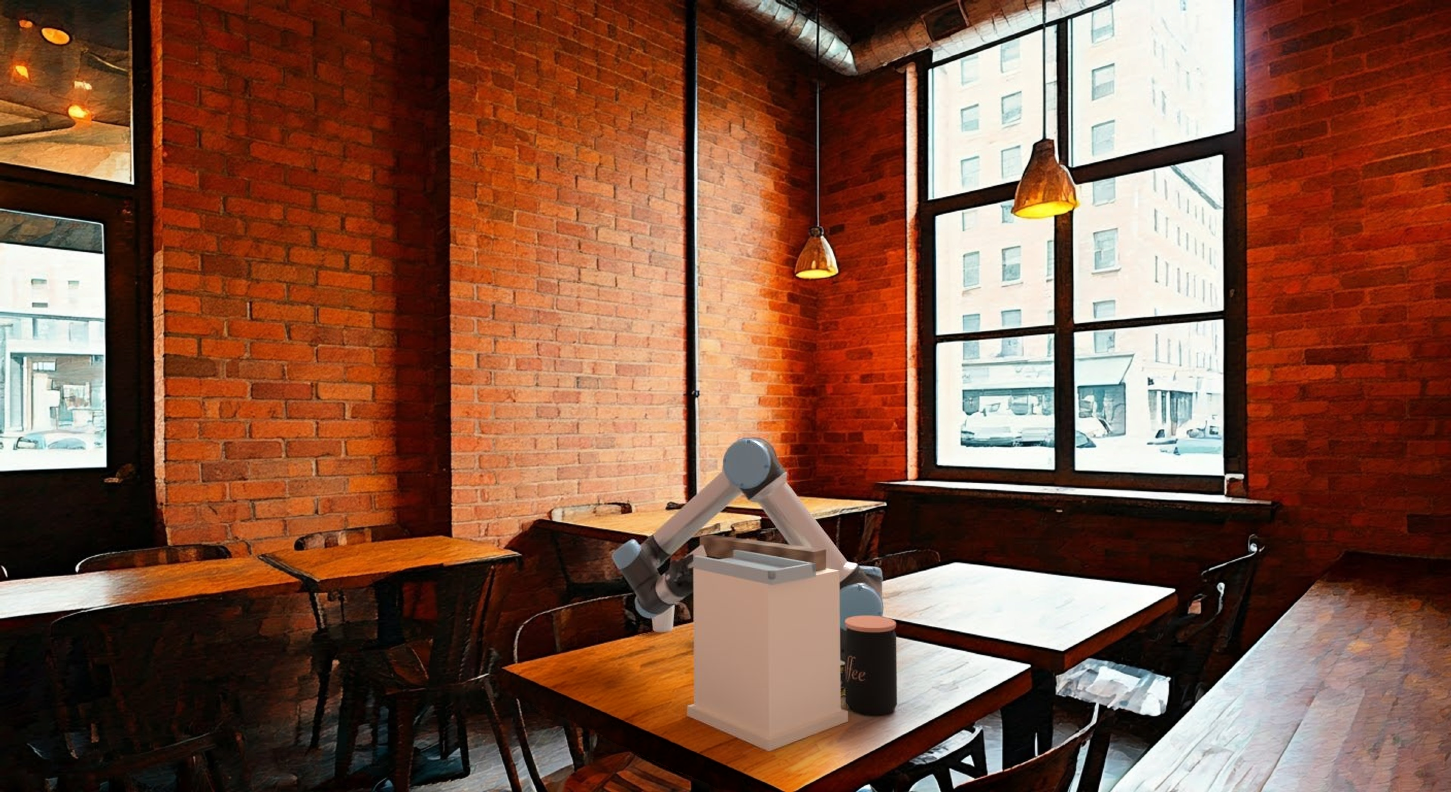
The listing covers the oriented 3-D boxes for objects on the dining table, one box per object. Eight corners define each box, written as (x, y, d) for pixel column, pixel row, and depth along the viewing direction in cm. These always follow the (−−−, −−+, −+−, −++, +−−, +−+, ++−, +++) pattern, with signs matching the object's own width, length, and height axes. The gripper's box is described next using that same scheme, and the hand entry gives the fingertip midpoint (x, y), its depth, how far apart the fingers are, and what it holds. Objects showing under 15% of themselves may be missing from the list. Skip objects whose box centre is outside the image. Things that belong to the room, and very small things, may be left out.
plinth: (687, 715, 165) (686, 568, 166) (764, 691, 180) (763, 555, 180) (768, 751, 147) (767, 585, 148) (847, 721, 161) (846, 570, 162)
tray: (693, 568, 166) (693, 556, 166) (736, 561, 174) (736, 549, 174) (771, 585, 149) (771, 571, 149) (816, 576, 156) (815, 563, 157)
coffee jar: (840, 700, 174) (839, 615, 174) (888, 698, 175) (887, 614, 175) (852, 718, 163) (851, 628, 164) (903, 716, 164) (902, 627, 165)
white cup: (671, 633, 229) (671, 608, 229) (647, 632, 231) (647, 607, 231) (677, 627, 236) (677, 603, 236) (654, 626, 237) (654, 602, 237)
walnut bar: (699, 554, 183) (699, 536, 183) (712, 552, 186) (711, 534, 186) (814, 572, 161) (814, 551, 161) (826, 569, 164) (826, 549, 164)
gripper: (722, 590, 202) (772, 556, 188) (639, 606, 186) (688, 570, 172) (712, 562, 205) (761, 527, 191) (630, 575, 189) (677, 537, 175)
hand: (727, 547), depth 182 cm, fingers open, 13 cm apart
